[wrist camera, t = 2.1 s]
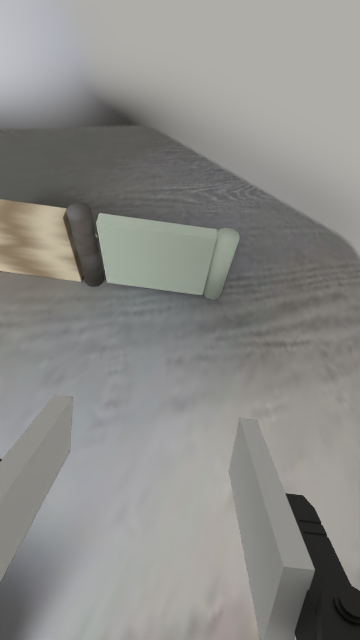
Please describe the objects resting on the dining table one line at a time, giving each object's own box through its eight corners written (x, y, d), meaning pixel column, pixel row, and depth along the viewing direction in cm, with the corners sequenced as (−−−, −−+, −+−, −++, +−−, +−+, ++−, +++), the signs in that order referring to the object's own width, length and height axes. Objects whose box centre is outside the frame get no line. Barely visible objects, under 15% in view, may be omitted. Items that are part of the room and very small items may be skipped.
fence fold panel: (106, 285, 35) (94, 226, 28) (110, 271, 36) (100, 209, 29) (220, 300, 35) (239, 246, 28) (221, 286, 36) (239, 229, 29)
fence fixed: (-33, 269, 35) (-88, 196, 27) (-25, 255, 36) (-76, 180, 28) (101, 287, 35) (87, 220, 27) (105, 273, 36) (93, 204, 28)
